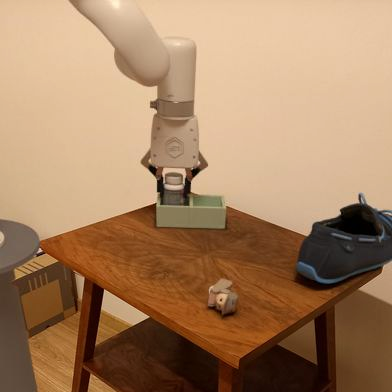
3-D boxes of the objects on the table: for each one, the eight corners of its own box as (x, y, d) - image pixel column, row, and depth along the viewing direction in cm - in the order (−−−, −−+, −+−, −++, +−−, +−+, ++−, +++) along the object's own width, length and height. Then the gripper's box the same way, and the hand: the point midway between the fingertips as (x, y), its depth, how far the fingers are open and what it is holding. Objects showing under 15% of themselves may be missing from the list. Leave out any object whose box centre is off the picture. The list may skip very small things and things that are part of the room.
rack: (156, 227, 115) (156, 206, 112) (157, 213, 121) (157, 193, 118) (224, 228, 115) (226, 208, 113) (222, 215, 122) (224, 195, 119)
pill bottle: (184, 215, 115) (186, 178, 110) (164, 216, 115) (164, 178, 110) (182, 207, 119) (183, 171, 114) (162, 208, 118) (162, 171, 113)
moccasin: (415, 250, 113) (434, 197, 106) (353, 302, 89) (373, 239, 82) (356, 230, 119) (371, 179, 112) (283, 275, 95) (297, 213, 89)
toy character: (198, 289, 84) (232, 301, 82) (216, 274, 90) (247, 284, 89) (194, 311, 86) (227, 323, 84) (212, 294, 92) (243, 305, 91)
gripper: (132, 110, 101) (134, 200, 111) (218, 114, 101) (212, 204, 112) (135, 102, 107) (136, 189, 117) (216, 106, 107) (210, 192, 118)
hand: (173, 195), depth 115 cm, fingers closed on pill bottle, 4 cm apart
